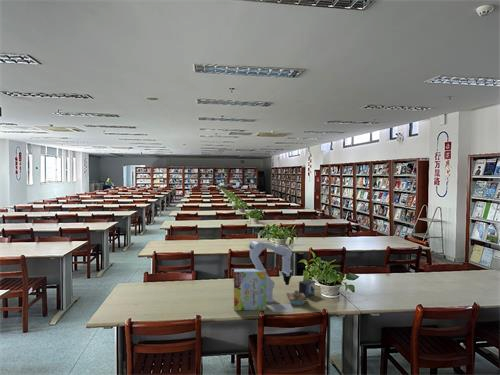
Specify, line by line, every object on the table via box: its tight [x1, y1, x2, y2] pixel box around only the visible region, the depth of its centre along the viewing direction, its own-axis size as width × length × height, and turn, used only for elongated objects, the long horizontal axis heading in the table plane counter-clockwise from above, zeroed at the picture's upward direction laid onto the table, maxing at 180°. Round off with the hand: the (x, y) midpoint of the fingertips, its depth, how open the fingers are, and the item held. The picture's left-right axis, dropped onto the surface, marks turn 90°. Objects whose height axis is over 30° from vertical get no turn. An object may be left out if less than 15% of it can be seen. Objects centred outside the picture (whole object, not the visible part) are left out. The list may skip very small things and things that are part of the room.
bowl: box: [288, 299, 306, 306], centre depth 242 cm, size 10×10×4 cm
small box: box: [298, 279, 316, 298], centre depth 257 cm, size 11×6×10 cm, turn 126°
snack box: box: [233, 268, 267, 311], centre depth 231 cm, size 22×9×26 cm, turn 92°
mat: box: [269, 303, 294, 313], centre depth 231 cm, size 14×14×1 cm
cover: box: [286, 290, 308, 301], centre depth 242 cm, size 12×12×4 cm
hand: (286, 283), depth 252 cm, fingers open, 7 cm apart
